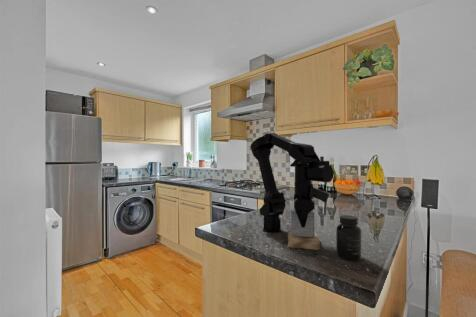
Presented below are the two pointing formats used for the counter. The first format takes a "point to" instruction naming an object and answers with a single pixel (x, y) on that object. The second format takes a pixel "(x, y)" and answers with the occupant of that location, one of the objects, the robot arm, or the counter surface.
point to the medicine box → (302, 231)
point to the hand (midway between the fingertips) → (302, 224)
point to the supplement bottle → (348, 238)
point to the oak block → (303, 242)
